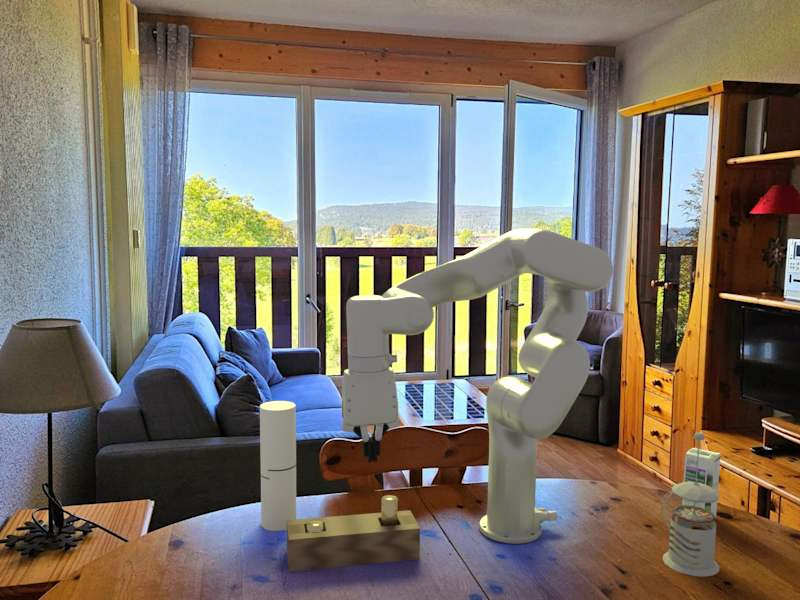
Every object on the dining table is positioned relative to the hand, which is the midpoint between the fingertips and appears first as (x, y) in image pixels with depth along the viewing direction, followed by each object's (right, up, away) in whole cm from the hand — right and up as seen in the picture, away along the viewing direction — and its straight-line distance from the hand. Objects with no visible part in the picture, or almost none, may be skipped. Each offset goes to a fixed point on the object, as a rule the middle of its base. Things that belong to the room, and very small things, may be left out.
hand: (371, 459), depth 128 cm
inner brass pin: (+3, -14, +2) cm, 14 cm away
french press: (+59, -19, +1) cm, 62 cm away
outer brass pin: (-11, -18, 0) cm, 21 cm away
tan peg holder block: (-4, -18, +1) cm, 19 cm away
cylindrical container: (-20, -17, +14) cm, 29 cm away
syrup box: (+69, -17, +19) cm, 74 cm away
